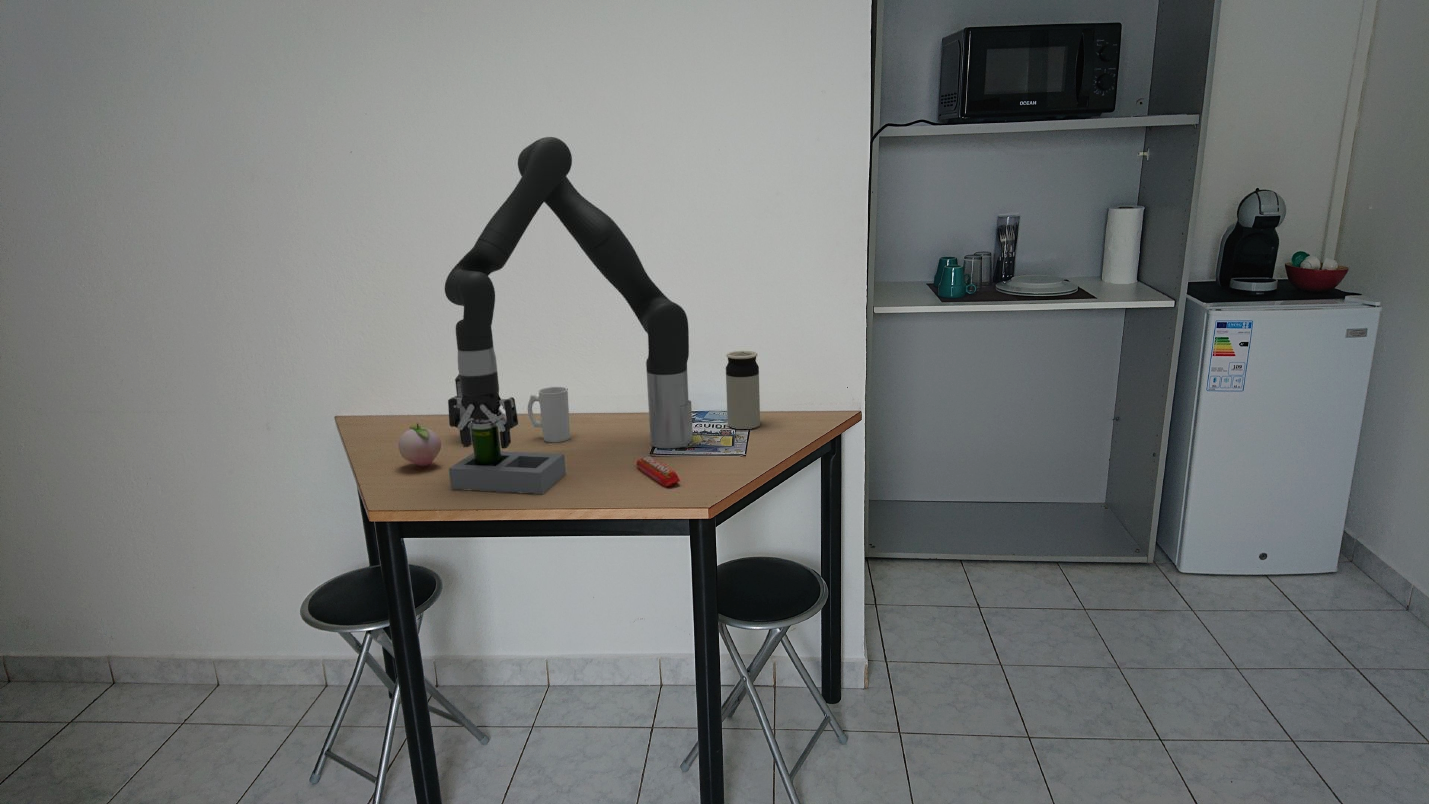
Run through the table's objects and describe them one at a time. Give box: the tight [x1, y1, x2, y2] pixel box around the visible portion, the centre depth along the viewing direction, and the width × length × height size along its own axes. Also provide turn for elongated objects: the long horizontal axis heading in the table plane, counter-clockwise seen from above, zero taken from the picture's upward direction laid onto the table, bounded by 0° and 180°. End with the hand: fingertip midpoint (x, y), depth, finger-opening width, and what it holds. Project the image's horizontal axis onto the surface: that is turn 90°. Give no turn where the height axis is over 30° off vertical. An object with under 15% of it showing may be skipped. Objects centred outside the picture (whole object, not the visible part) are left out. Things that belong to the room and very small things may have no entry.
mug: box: [527, 386, 571, 443], centre depth 213 cm, size 10×7×12 cm, turn 81°
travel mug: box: [725, 350, 761, 430], centre depth 217 cm, size 8×8×18 cm
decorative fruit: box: [397, 422, 442, 468], centre depth 196 cm, size 9×8×10 cm
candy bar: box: [636, 455, 681, 488], centre depth 185 cm, size 16×4×3 cm, turn 28°
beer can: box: [471, 419, 502, 466], centre depth 185 cm, size 5×5×12 cm
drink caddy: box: [448, 450, 566, 495], centre depth 185 cm, size 20×12×4 cm, turn 76°
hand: (486, 446), depth 185 cm, fingers open, 8 cm apart
